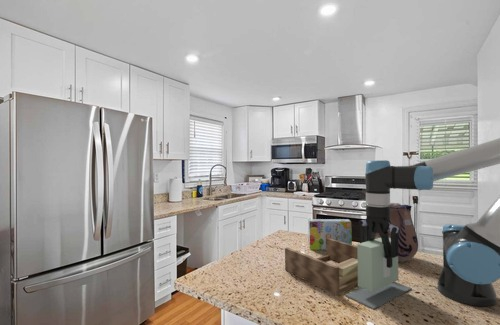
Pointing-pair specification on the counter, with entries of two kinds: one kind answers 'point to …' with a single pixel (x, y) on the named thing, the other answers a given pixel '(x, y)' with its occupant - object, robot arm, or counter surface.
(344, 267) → the offcut stack
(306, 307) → the counter surface
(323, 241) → the snack box
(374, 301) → the mat
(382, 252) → the pale green block
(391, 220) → the ceramic pitcher
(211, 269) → the counter surface
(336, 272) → the rack
